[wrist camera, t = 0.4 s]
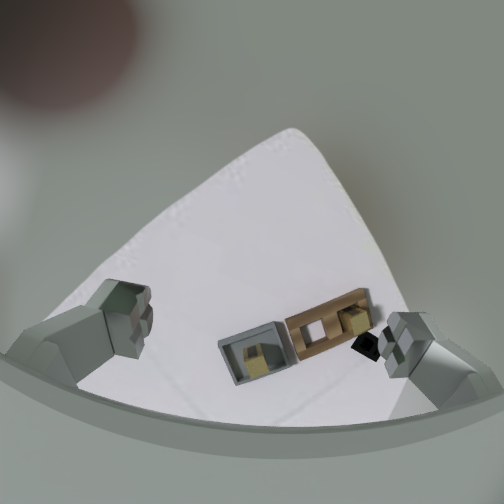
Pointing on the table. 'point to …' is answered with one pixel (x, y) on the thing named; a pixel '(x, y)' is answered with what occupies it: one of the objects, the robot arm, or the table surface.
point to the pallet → (326, 324)
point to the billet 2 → (353, 319)
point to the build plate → (367, 345)
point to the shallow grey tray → (262, 334)
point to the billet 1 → (255, 360)
